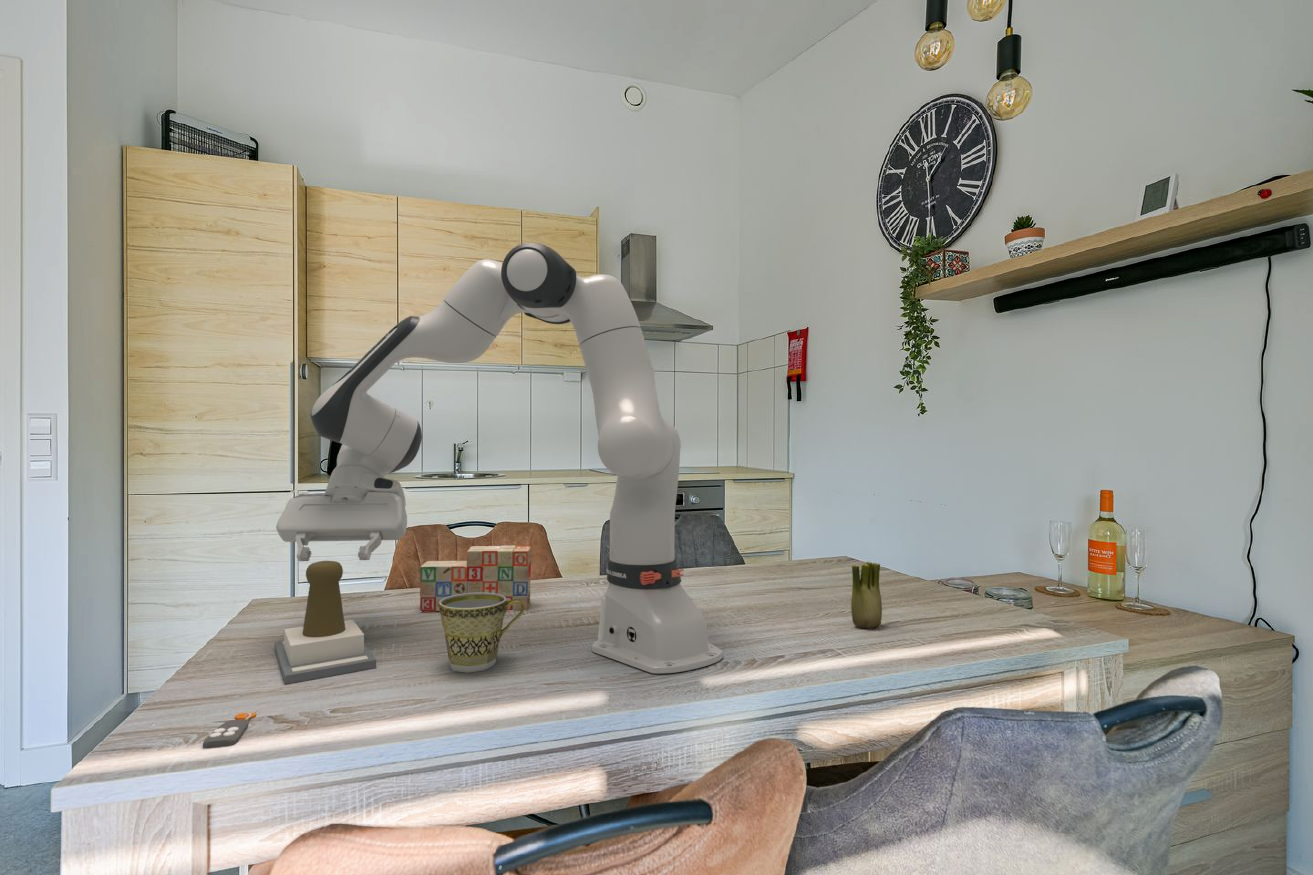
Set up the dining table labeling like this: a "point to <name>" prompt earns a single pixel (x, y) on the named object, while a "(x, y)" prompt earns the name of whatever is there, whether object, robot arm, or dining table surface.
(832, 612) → the dining table surface
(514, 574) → the stack of blocks
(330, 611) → the cork
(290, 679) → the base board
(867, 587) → the fennel bulb
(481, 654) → the ceramic cup
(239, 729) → the key chain
